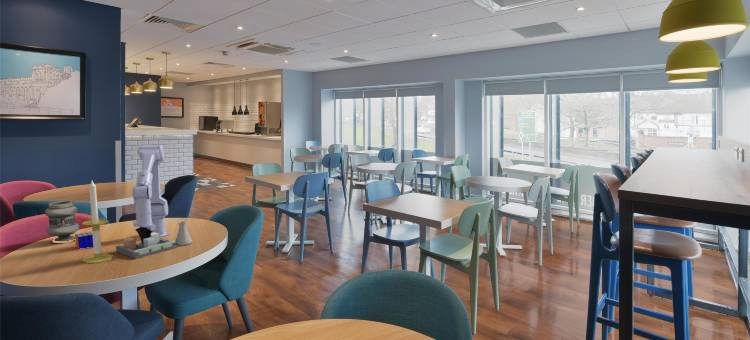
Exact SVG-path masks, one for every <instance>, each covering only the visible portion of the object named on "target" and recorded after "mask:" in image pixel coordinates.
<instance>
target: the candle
mask: <svg viewBox="0 0 750 340" xmlns="http://www.w3.org/2000/svg"><path fill="white" fill-rule="evenodd" d="M88 187H89V199H90V200H89V201H90V213H91V220H90V219H89V220H85V221H83V222H82V225H83V226H91V233H92V234H93V246H94V247H93V255H90V256H87V257H86V258H84V259H83V260H82V262H83V261H84V262H86V263H85V264H98V263H103V262H107V261H109V260H112V259H113V258H114V255H113V254H109V253H103V254H102V243H101V242H102V241H101V230H100V229H101V228H100V225H103V224H107V223H108V222H109V220H108V219H105V218H99V212H98V211H99V209H98V208H99V207H98V197H97V196H98V195H97V185H96V184H95V183H94V181H93V180H91V182H90V185H89V186H88ZM84 262H83V263H84Z"/></svg>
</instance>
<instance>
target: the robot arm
mask: <svg viewBox="0 0 750 340" xmlns="http://www.w3.org/2000/svg"><path fill="white" fill-rule="evenodd" d="M164 148H165V147H164V146H163V145H162V144H159V145H158V144H139V146H138V147H137V150H138V151H137V154H138V157H139V159H140V161H142V162H141V171H139V172H138V174H137V176H136V183H135V186H133V187H132V192H131V193H132V199H133V204H134V205H135V220H134V221H133V227H135V232H137V234H138V236H139V238H140V241H141V242H142V244H143V239H146V238H150V236H151V233H153V232H155V233H159V238H162V237H165V236H169V235H171V234H170V233H169V232H166V231H167V230H166V217H167V216H168V214H169V205H168V200H167V199H165V198H164V197H162V195H161V173H160V172H161V169H160V168H161V163H163V162H165V149H164ZM141 242H140V243H141ZM143 245H144V244H143Z"/></svg>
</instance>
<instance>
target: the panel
mask: <svg viewBox="0 0 750 340" xmlns="http://www.w3.org/2000/svg"><path fill="white" fill-rule="evenodd" d="M159 241H160V242H159V243H156V245H154V246H150V247H144V245H143V244H142V242H139V243H138V242H137V243H136V248H135V249H129V248H126V247H124V245H120V244H118V245H115V251H116V253H119V254H122V255H125V256H127V257H130V258H132V259H136V260H137V259H140V258H144V257H147V256H150V255H151V256H152V255H155V254H158V253H162V252H166V251H169V250H173V249H176V248H177V245H176V242H175V241H176V240H169V239H165V238H162V237H159Z"/></svg>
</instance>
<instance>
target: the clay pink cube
mask: <svg viewBox="0 0 750 340" xmlns="http://www.w3.org/2000/svg"><path fill="white" fill-rule="evenodd" d="M122 242H123V243H122V246H124V247H126V248H129V249H135V248H136V244H137V239H136V238H133V237H127V238H123V239H122Z"/></svg>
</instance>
